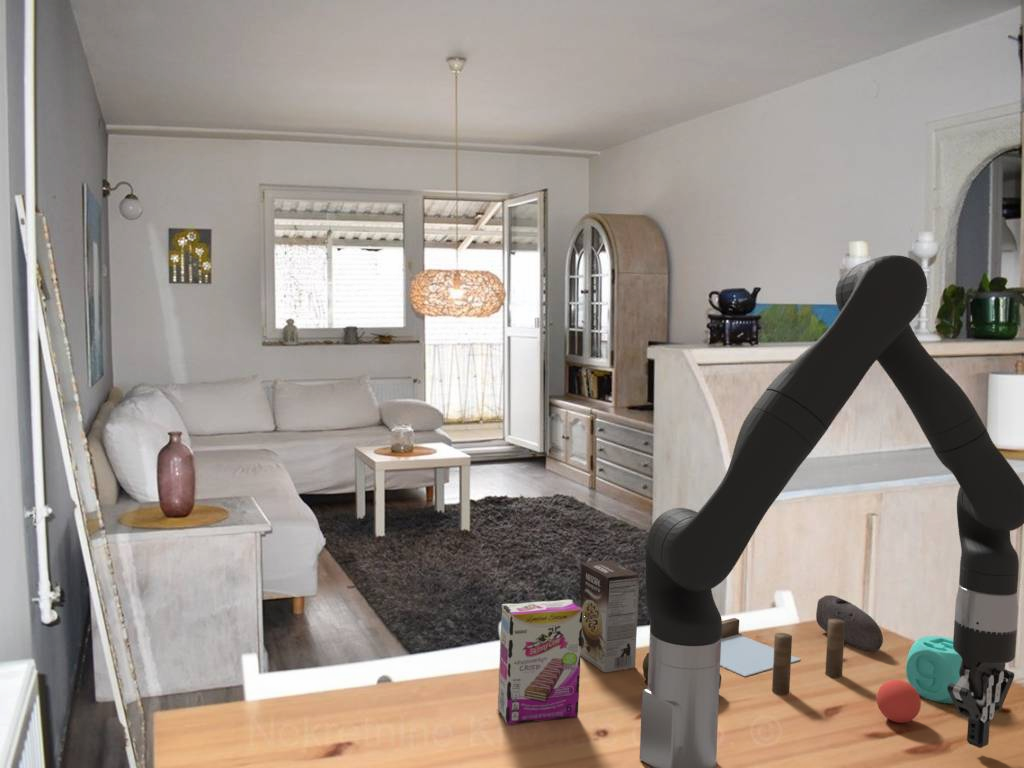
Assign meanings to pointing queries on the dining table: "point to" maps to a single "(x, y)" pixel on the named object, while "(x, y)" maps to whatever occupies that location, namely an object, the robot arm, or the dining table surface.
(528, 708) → the candy bar box
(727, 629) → the stopper rail
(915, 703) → the ball
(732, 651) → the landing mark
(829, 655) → the post right
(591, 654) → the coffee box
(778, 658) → the post left
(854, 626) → the perforated stone tool
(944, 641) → the decorative dice
